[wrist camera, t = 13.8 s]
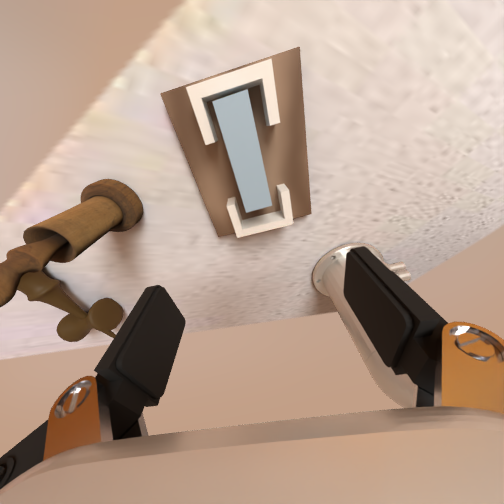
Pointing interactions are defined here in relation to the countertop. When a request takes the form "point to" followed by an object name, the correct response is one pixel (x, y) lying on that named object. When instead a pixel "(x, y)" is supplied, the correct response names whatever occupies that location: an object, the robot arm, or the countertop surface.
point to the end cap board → (270, 140)
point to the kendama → (71, 308)
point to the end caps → (265, 78)
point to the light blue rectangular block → (243, 149)
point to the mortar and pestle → (71, 232)
